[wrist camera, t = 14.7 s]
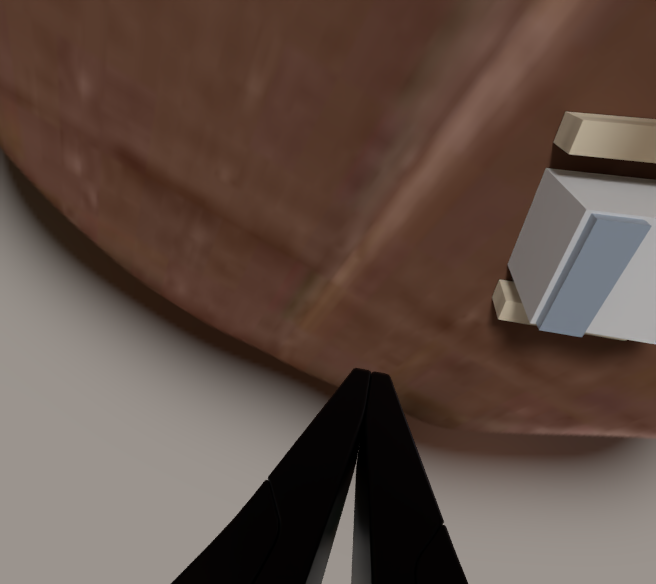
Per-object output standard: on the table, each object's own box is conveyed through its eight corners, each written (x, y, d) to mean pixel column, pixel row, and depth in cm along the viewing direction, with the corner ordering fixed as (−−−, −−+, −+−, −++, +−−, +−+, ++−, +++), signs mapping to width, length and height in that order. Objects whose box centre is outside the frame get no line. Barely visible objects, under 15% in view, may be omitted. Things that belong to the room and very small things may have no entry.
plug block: (696, 183, 15) (809, 242, 11) (632, 281, 18) (699, 359, 14) (545, 167, 16) (592, 215, 12) (507, 263, 19) (532, 331, 14)
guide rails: (733, 126, 14) (774, 137, 12) (608, 316, 19) (625, 341, 18) (565, 111, 15) (583, 120, 13) (492, 297, 20) (498, 319, 18)
